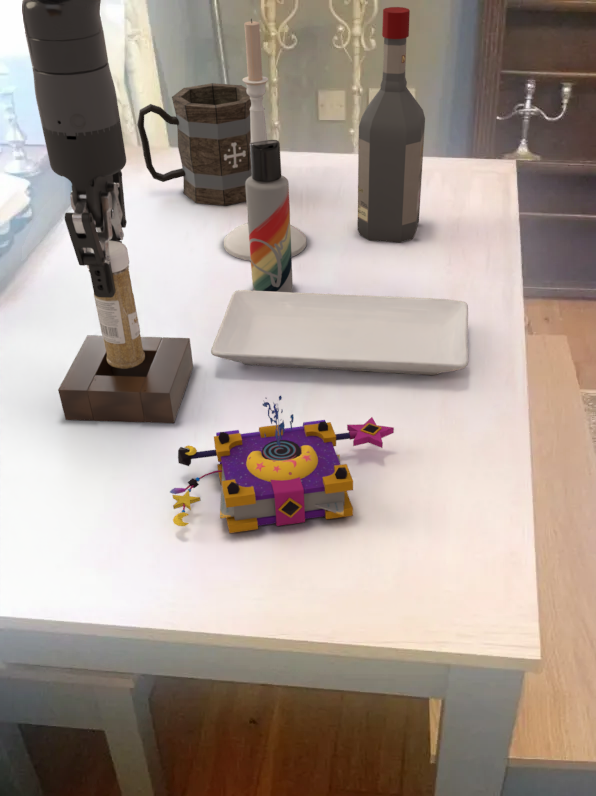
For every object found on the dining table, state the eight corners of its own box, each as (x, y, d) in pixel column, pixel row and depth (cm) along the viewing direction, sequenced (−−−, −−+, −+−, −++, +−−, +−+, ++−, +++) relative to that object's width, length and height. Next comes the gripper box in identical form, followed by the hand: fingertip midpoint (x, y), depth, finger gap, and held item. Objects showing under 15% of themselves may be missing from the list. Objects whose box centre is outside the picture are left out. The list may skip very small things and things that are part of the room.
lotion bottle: (261, 303, 125) (250, 150, 111) (247, 286, 129) (236, 136, 115) (298, 295, 127) (293, 144, 113) (284, 279, 131) (277, 130, 117)
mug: (258, 175, 161) (252, 81, 150) (264, 203, 151) (259, 105, 141) (147, 181, 159) (134, 86, 148) (147, 210, 149) (132, 111, 139)
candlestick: (289, 266, 134) (279, 33, 113) (210, 255, 137) (186, 26, 116) (317, 233, 142) (313, 11, 121) (243, 223, 145) (226, 5, 124)
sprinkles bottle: (153, 360, 106) (135, 247, 96) (120, 374, 103) (99, 260, 94) (130, 346, 108) (111, 235, 99) (98, 360, 106) (75, 247, 96)
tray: (465, 389, 109) (468, 363, 106) (210, 376, 111) (207, 350, 109) (466, 323, 121) (468, 299, 118) (235, 312, 123) (233, 288, 121)
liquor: (420, 221, 146) (433, 3, 125) (413, 244, 139) (426, 19, 118) (364, 218, 147) (368, 1, 126) (355, 240, 140) (357, 16, 119)
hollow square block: (65, 420, 104) (57, 389, 101) (93, 364, 113) (87, 334, 111) (174, 423, 104) (169, 393, 101) (193, 367, 113) (189, 337, 110)
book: (165, 464, 98) (148, 364, 89) (387, 436, 102) (391, 336, 93) (177, 550, 88) (159, 446, 79) (423, 515, 92) (431, 411, 83)
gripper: (62, 94, 92) (94, 256, 104) (19, 140, 82) (59, 314, 94) (134, 95, 92) (158, 258, 104) (99, 142, 82) (130, 316, 94)
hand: (111, 284), depth 99 cm, fingers closed on sprinkles bottle, 4 cm apart
